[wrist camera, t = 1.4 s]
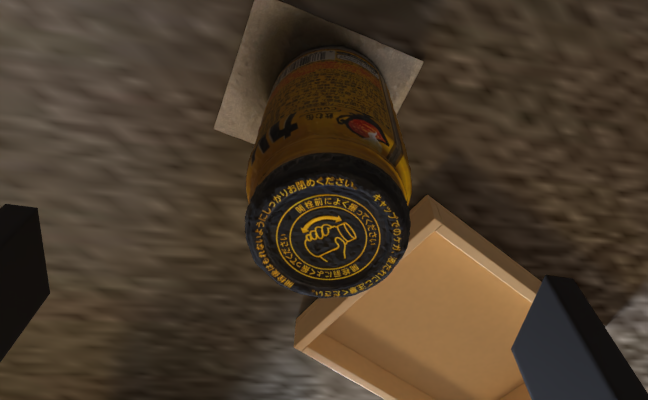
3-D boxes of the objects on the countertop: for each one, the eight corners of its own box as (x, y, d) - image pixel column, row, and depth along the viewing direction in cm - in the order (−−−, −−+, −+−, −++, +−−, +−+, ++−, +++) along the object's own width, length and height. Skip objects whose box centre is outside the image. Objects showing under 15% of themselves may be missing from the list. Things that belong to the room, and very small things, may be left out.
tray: (295, 318, 34) (293, 347, 31) (427, 193, 29) (434, 217, 27) (467, 420, 39) (475, 451, 36) (604, 329, 34) (622, 358, 32)
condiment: (361, 181, 28) (378, 344, 18) (214, 127, 27) (140, 271, 17) (423, 60, 25) (488, 175, 15) (258, -10, 23) (199, 62, 13)
